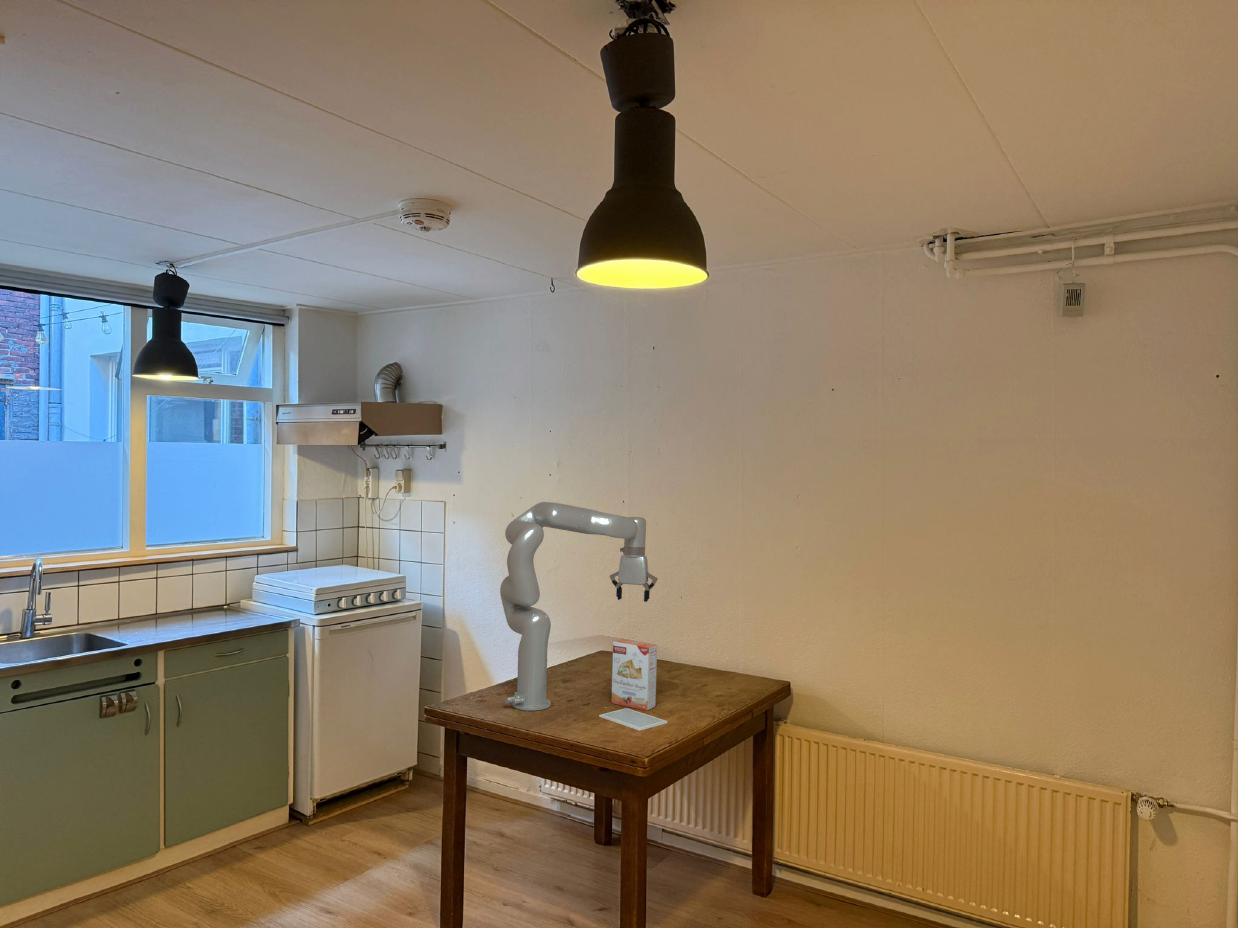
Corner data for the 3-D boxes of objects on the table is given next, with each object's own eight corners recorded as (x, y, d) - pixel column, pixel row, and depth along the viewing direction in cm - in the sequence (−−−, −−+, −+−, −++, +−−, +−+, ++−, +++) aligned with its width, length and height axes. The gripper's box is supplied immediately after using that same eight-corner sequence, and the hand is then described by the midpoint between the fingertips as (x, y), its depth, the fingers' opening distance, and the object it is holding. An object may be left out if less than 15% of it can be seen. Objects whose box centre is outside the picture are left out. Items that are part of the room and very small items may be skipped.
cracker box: (610, 704, 273) (612, 640, 273) (620, 700, 278) (621, 638, 278) (646, 711, 265) (648, 646, 266) (656, 707, 271) (657, 643, 271)
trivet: (639, 730, 246) (639, 728, 246) (599, 716, 259) (599, 714, 259) (667, 722, 254) (667, 720, 254) (626, 709, 267) (626, 707, 267)
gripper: (608, 551, 291) (606, 599, 290) (655, 554, 286) (654, 603, 286) (613, 549, 298) (612, 597, 298) (660, 552, 293) (658, 600, 293)
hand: (632, 600), depth 292 cm, fingers open, 9 cm apart
